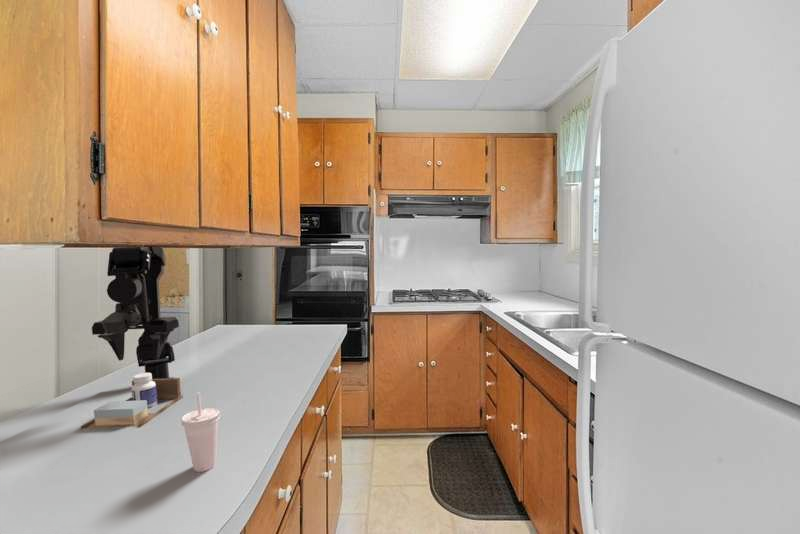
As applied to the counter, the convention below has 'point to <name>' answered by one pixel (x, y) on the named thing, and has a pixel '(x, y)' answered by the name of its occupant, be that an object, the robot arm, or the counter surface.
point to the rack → (164, 390)
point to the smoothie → (202, 436)
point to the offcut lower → (121, 419)
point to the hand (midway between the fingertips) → (139, 359)
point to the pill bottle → (144, 389)
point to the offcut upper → (120, 409)
